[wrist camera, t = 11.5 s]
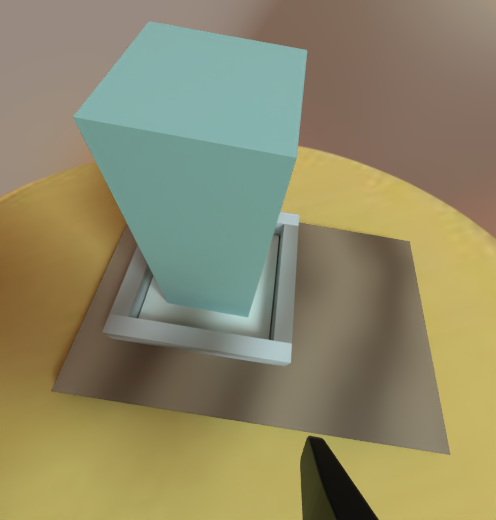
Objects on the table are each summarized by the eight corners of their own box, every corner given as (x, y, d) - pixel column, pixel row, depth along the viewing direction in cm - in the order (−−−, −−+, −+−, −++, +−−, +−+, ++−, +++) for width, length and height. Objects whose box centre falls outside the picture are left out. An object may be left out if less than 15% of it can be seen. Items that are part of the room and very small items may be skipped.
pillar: (248, 317, 16) (296, 157, 6) (167, 303, 16) (73, 116, 6) (258, 249, 19) (307, 50, 8) (188, 236, 19) (149, 21, 8)
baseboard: (61, 392, 15) (33, 389, 12) (142, 204, 21) (133, 181, 19) (436, 452, 15) (474, 459, 13) (401, 248, 21) (422, 230, 19)
